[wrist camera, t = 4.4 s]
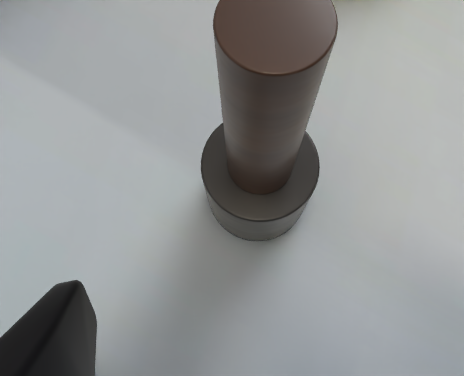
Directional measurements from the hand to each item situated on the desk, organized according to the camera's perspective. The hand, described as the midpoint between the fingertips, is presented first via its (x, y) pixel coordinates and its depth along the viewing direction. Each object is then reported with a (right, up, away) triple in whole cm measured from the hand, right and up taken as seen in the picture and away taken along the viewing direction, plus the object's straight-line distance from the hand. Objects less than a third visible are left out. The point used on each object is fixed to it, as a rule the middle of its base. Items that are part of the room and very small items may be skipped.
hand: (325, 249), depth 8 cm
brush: (-1, +1, +12) cm, 12 cm away
